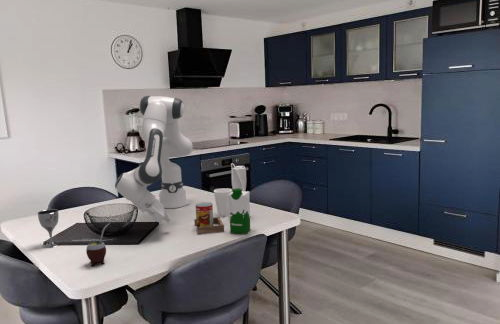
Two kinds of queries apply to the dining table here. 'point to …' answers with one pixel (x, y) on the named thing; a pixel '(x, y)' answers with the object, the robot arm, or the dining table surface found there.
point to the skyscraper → (239, 177)
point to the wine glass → (49, 223)
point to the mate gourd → (97, 251)
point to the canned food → (204, 214)
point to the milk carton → (239, 211)
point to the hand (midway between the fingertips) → (169, 220)
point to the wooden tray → (211, 227)
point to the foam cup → (222, 201)
